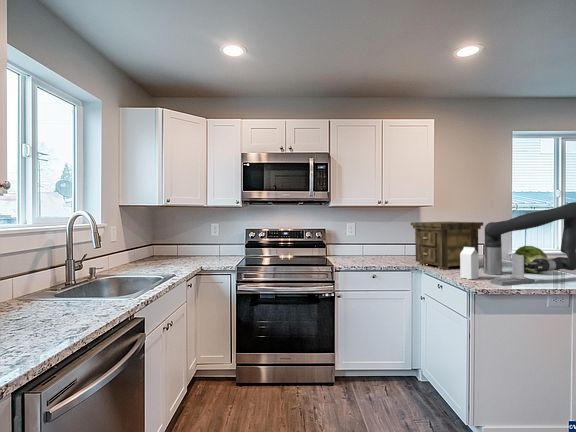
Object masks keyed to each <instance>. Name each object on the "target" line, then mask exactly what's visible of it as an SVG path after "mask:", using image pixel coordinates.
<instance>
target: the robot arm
mask: <svg viewBox="0 0 576 432" xmlns="http://www.w3.org/2000/svg"><path fill="white" fill-rule="evenodd" d="M560 220H563V229H562V235H561V243H560V252H561V253H563V254H566V256H567V257H564V256H558V257H554V258H553V257H552V258H549V257H547V258H542V259H534V260H533V261H532V262H527V263H524V268H526V269H534V270H535V271H537V272H539V273H542V272H545V273H546V272H554V271H560V270H567V271H576V201H571V202H568V203H567V204H563V205H561V206H557V207H553V208H548V209H542V210H537V211H532V212H528V213H525V214H521V215H518V216H515V217H513V218H510V219H507V220H502V221H495V222H493V221H491V222H488V223H486V224H485V226H484V258H483V274H486V275H487V274H488V275H493V276H495V275H503V265H502V264H503V263H502V262H503V259H502V258H503V257H502V254H503V253H502V252H503V251H502V250H503V249H502V235H504V234H508V233H510V232H515V231H516V232H517V231H523V230H530V229H533V228H537V227H541V226H544V225H548V224H551V223H553V222H556V221H560Z"/></svg>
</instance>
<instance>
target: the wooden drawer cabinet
mask: <svg viewBox="0 0 576 432" xmlns="http://www.w3.org/2000/svg"><path fill="white" fill-rule="evenodd" d="M410 226H412V229H414V231H415V233H414V236H415V239H414V240H415V242H414V243H415V244H414V246H415V262H417V263H419V265H420V264H424V265H423V266H427V265H426V264H429V265H432V266H433V265H434V266H437V269H438V268H441V269H440V270H442V269H444V270H449V267H458V266H459V267H460V253H461V252H462V250H463V249H464V247H473V248H475V250H476V251H477V253H478V254H479V230H481V227H483V226H484V222H482V221H481V222H476V221H422V222H421V221H420V222H419V221H418V222H416V221H415V222H410Z"/></svg>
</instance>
